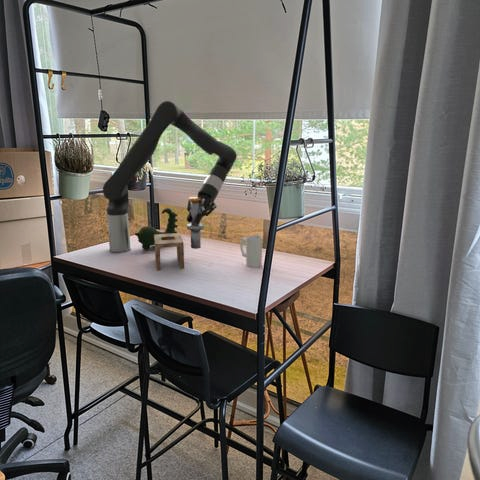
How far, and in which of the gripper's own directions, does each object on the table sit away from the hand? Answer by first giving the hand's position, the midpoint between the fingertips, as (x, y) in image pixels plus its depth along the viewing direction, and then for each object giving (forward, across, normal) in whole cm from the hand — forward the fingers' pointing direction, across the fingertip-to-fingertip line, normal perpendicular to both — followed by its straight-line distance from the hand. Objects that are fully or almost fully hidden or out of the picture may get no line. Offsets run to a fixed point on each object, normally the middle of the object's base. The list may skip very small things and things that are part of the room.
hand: (192, 221), depth 171 cm
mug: (+2, +18, +24) cm, 30 cm away
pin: (+6, 0, +9) cm, 11 cm away
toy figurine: (+4, -34, +24) cm, 41 cm away
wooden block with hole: (+15, -11, +12) cm, 22 cm away
